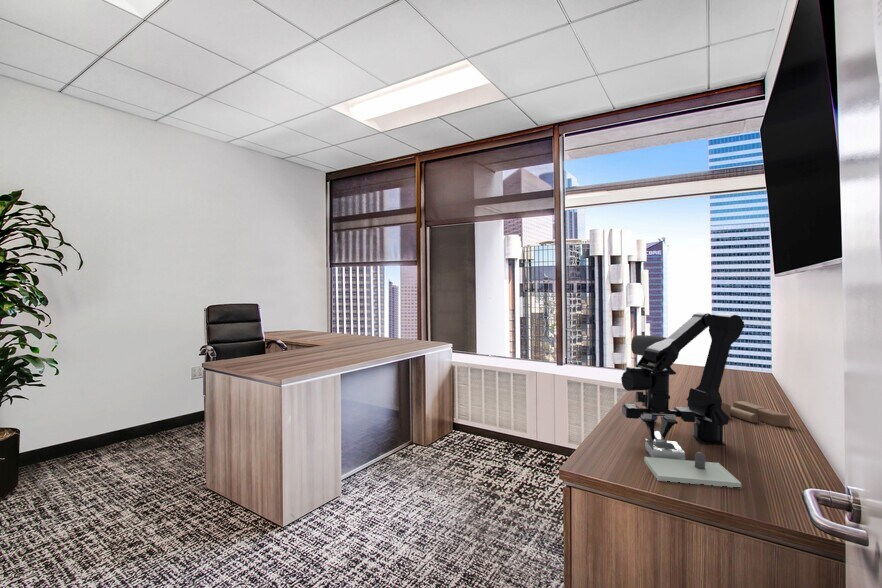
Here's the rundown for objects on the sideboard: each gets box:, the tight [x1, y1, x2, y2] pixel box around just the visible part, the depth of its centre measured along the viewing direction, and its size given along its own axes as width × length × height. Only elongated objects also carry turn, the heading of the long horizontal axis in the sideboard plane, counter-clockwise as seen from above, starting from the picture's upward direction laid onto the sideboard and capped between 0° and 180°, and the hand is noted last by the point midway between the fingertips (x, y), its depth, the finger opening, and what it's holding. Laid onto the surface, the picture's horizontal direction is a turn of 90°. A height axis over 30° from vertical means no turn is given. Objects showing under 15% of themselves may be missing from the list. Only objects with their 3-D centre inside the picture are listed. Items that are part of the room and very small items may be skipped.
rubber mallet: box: [630, 334, 668, 423], centre depth 141 cm, size 12×8×30 cm, turn 46°
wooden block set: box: [721, 400, 791, 428], centre depth 143 cm, size 17×6×18 cm
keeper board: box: [643, 451, 742, 488], centre depth 102 cm, size 18×11×5 cm, turn 79°
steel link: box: [644, 430, 686, 460], centre depth 117 cm, size 14×8×3 cm, turn 166°
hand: (657, 441), depth 121 cm, fingers closed on steel link, 2 cm apart
